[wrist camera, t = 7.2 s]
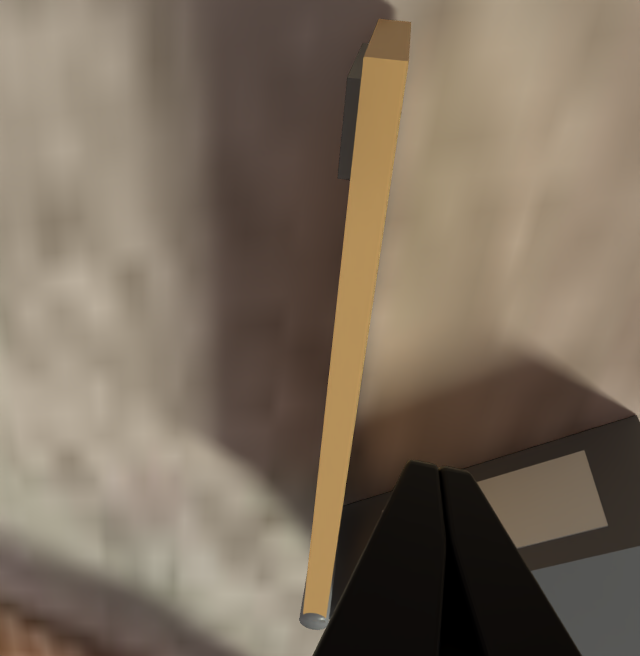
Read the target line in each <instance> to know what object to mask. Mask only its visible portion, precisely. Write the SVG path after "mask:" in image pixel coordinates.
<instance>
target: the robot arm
mask: <svg viewBox="0 0 640 656" xmlns="http://www.w3.org/2000/svg"><path fill="white" fill-rule="evenodd" d="M313 656H582V654H581V653H580V651H579V650H578V648H577V646H576V645H575V643H574V641H573V640H572V638H571V636H570V635H569V633H568V631H567V630H566V628H565V627H564V625H563V623H562V622H561V620H560V618H559V617H558V615H557V613H556V612H555V610H554V608H553V607H552V605H551V603H550V602H549V600H548V599H547V597H546V595H545V594H544V592H543V590H542V589H541V587H540V585H539V584H538V582H537V580H536V579H535V577H534V576H533V574H532V572H531V571H530V569H529V567H528V566H527V564H526V562H525V561H524V559H523V557H522V556H521V554H520V553H519V551H518V549H517V548H516V546H515V544H514V543H513V541H512V539H511V538H510V536H509V534H508V533H507V531H506V529H505V528H504V526H503V525H502V523H501V521H500V520H499V518H498V516H497V515H496V513H495V511H494V510H493V508H492V506H491V505H490V503H489V502H488V500H487V498H486V497H485V495H484V493H483V492H482V490H481V488H480V487H479V485H478V483H477V482H476V480H475V479H474V477H473V475H472V474H471V473H470V472H468V471H466V470H462V469H457V468H452V467H447V466H441V467H439V468H438V467H437V466H436V465H435V464H432V463H427V462H422V461H417V460H409V461H408V462H407V463H406V465H405V467H404V469H403V471H402V473H401V475H400V477H399V479H398V481H397V483H396V485H395V487H394V489H393V491H392V493H391V495H390V498H389V500H388V502H387V504H386V506H385V508H384V510H383V512H382V514H381V516H380V518H379V520H378V522H377V524H376V526H375V528H374V530H373V532H372V535H371V537H370V539H369V541H368V543H367V545H366V547H365V549H364V551H363V553H362V555H361V557H360V559H359V561H358V563H357V565H356V567H355V569H354V571H353V574H352V576H351V578H350V580H349V582H348V584H347V586H346V588H345V590H344V592H343V594H342V596H341V598H340V600H339V602H338V604H337V606H336V608H335V610H334V613H333V615H332V617H331V619H330V621H329V623H328V625H327V627H326V629H325V631H324V633H323V635H322V637H321V639H320V641H319V643H318V645H317V647H316V650H315V652H314V654H313Z"/></svg>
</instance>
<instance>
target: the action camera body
mask: <svg viewBox="0 0 640 656" xmlns="http://www.w3.org/2000/svg"><path fill="white" fill-rule="evenodd" d="M462 470H466V471H468V472H470V473H471V474H472V475H473V477H474V479H475V480H476V482H477V483H478V485H479V487H480V488H481V490H482V492H483V493H484V495H485V497H486V498H487V500H488V502H489V503H490V505H491V506H492V508H493V510H494V511H495V513H496V515H497V516H498V518H499V520H500V521H501V523H502V525H503V526H504V528H505V529H506V531H507V533H508V534H509V536H510V538H511V539H512V541H513V543H514V544H515V546H516V548H517V549H518V551H519V553H520V554H521V556H522V557H523V559H524V561H525V562H526V564H527V566H528V567H529V569H530V571H531V572H532V574H533V576H534V577H535V579H536V580H537V582H538V584H539V585H540V587H541V589H542V590H543V592H544V594H545V595H546V597H547V599H548V600H549V602H550V603H551V605H552V607H553V608H554V610H555V612H556V613H557V615H558V617H559V618H560V620H561V622H562V623H563V625H564V627H565V628H566V630H567V631H568V633H569V635H570V636H571V638H572V640H573V641H574V643H575V645H576V646H577V648H578V650H579V651H580V653H581V654H582V656H640V422H639V419H638V417H637V415H636V416H633V417H630V418H626V419H623V420H620V421H617V422H613V423H610V424H607V425H604V426H601V427H597V428H594V429H591V430H588V431H584V432H581V433H578V434H575V435H572V436H568V437H565V438H562V439H559V440H556V441H552V442H549V443H546V444H543V445H539V446H536V447H533V448H530V449H527V450H523V451H520V452H517V453H514V454H510V455H507V456H504V457H501V458H498V459H494V460H491V461H488V462H485V463H481V464H478V465H475V466H472V467H469V468H465V469H462ZM391 493H392V491H391V492H388V493H385V494H382V495H378V496H375V497H372V498H369V499H366V500H362V501H359V502H356V503H353V504H349V505H346V506H343V511H342V519H341V527H340V535H339V543H338V551H337V558H336V566H335V574H334V582H333V590H332V598H331V606H330V613H329V619H331V617H332V615H333V613H334V610H335V608H336V606H337V604H338V602H339V600H340V598H341V596H342V594H343V592H344V590H345V588H346V586H347V584H348V582H349V580H350V578H351V576H352V574H353V571H354V569H355V567H356V565H357V563H358V561H359V559H360V557H361V555H362V553H363V551H364V549H365V547H366V545H367V543H368V541H369V539H370V537H371V535H372V532H373V530H374V528H375V526H376V524H377V522H378V520H379V518H380V516H381V514H382V512H383V510H384V508H385V506H386V504H387V502H388V500H389V498H390V495H391Z"/></svg>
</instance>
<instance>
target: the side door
mask: <svg viewBox="0 0 640 656" xmlns="http://www.w3.org/2000/svg"><path fill="white" fill-rule="evenodd" d="M410 32H411V22H405V21H395V20H386V19H379V20H378V22H377V25H376V27H375V30H374V32H373V35H372V37H371V40H370V42H369V44H364V43H363V44H362V46H361V48H360V51H359V53H358V55H357V57H356V59H355V62H354V64H353V66H352V68H351V70H350V73H349V75H348V77H347V85H346V96H345V106H344V116H343V127H342V137H341V147H340V158H339V168H338V179H346V180H350V187H349V196H348V205H347V214H346V223H345V232H344V242H343V251H342V260H341V269H340V278H339V287H338V297H337V306H336V315H335V324H334V333H333V342H332V352H331V361H330V370H329V379H328V388H327V397H326V407H325V416H324V425H323V434H322V443H321V452H320V462H319V471H318V480H317V489H316V498H315V507H314V517H313V526H312V535H311V544H310V553H309V562H308V571H307V577H306V583H305V589H304V595H303V601H302V607H301V613H300V618H299V620H300V623H301V624H302V625H303V626H305V627H307V628H309V629H314V630H320V629H324V628H326V627H327V625H328V621H329V613H330V606H331V598H332V590H333V582H334V574H335V566H336V558H337V551H338V543H339V535H340V527H341V519H342V511H343V501H344V494H345V487H346V480H347V474H348V467H349V460H350V453H351V447H352V440H353V433H354V427H355V420H356V413H357V406H358V400H359V393H360V386H361V379H362V373H363V366H364V359H365V352H366V346H367V339H368V332H369V325H370V319H371V312H372V305H373V298H374V292H375V285H376V278H377V271H378V265H379V258H380V251H381V245H382V238H383V231H384V224H385V218H386V211H387V204H388V197H389V191H390V184H391V177H392V170H393V164H394V157H395V150H396V143H397V137H398V130H399V123H400V116H401V110H402V103H403V96H404V89H405V83H406V76H407V69H408V63H409V48H410Z"/></svg>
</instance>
